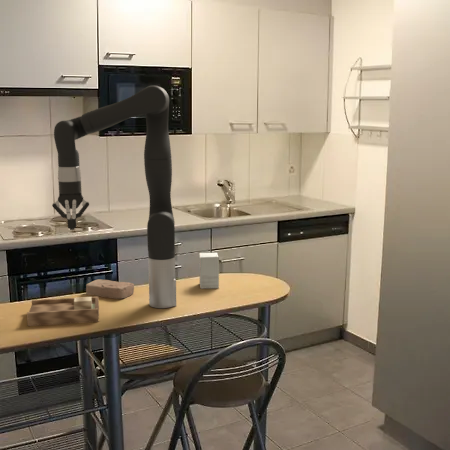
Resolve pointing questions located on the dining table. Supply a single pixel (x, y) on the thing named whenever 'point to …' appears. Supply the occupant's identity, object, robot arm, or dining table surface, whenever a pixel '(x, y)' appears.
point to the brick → (110, 289)
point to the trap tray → (61, 312)
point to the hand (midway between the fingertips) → (72, 229)
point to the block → (82, 303)
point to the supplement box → (209, 270)
